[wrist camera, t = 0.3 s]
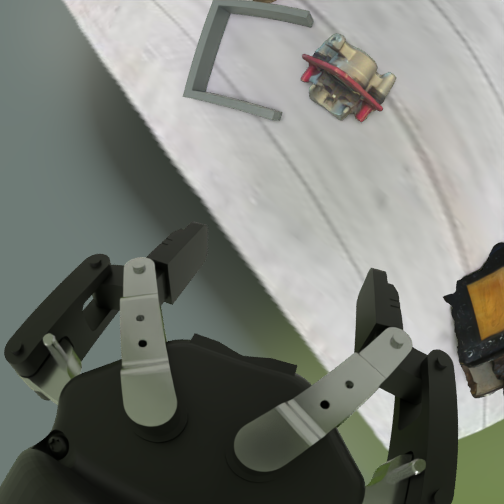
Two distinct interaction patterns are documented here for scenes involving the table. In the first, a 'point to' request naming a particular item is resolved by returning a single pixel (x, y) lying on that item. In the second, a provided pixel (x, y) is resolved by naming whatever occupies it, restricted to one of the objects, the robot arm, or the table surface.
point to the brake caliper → (345, 79)
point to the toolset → (481, 325)
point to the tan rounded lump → (265, 1)
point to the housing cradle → (209, 42)
